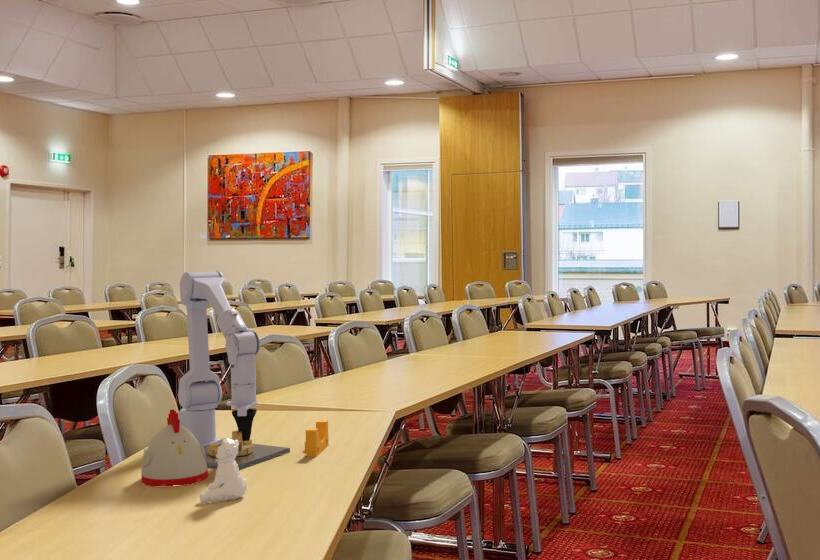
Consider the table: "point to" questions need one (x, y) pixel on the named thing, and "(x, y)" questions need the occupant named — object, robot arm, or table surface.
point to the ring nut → (244, 446)
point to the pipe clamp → (317, 439)
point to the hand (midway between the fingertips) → (245, 440)
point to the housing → (250, 455)
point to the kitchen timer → (174, 457)
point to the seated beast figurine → (225, 475)
